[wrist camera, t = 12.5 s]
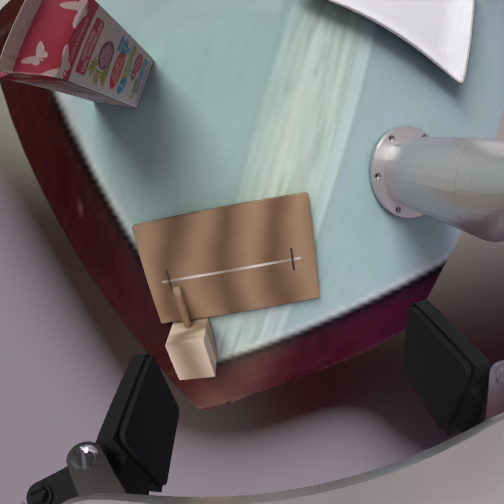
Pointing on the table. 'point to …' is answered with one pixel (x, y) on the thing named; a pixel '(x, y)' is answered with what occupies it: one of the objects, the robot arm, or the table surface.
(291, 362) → the table surface
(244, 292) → the board
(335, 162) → the table surface
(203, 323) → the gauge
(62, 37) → the juice carton
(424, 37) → the square plate
